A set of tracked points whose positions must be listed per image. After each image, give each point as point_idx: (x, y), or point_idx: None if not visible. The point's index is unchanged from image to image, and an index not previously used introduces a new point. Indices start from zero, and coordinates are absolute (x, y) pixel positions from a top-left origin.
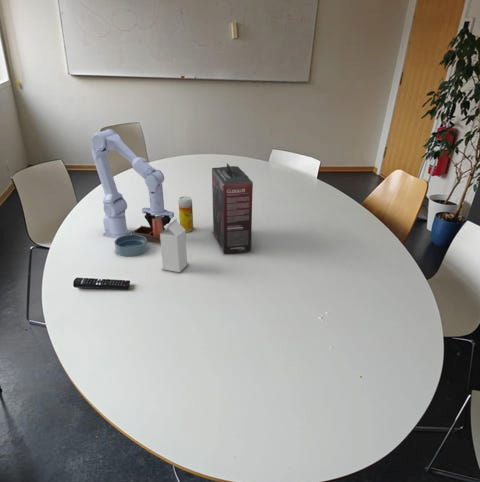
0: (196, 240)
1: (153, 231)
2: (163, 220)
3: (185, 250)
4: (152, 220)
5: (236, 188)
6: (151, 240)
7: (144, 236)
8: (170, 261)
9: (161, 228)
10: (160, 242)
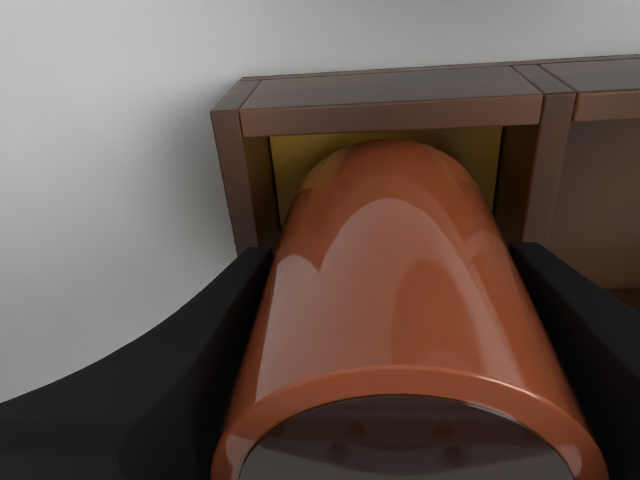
0: (45, 338)
1: (458, 194)
2: (64, 412)
3: None
4: (515, 367)
5: None
6: (457, 76)
7: (615, 80)
8: None
9: (279, 268)
10: (290, 85)
